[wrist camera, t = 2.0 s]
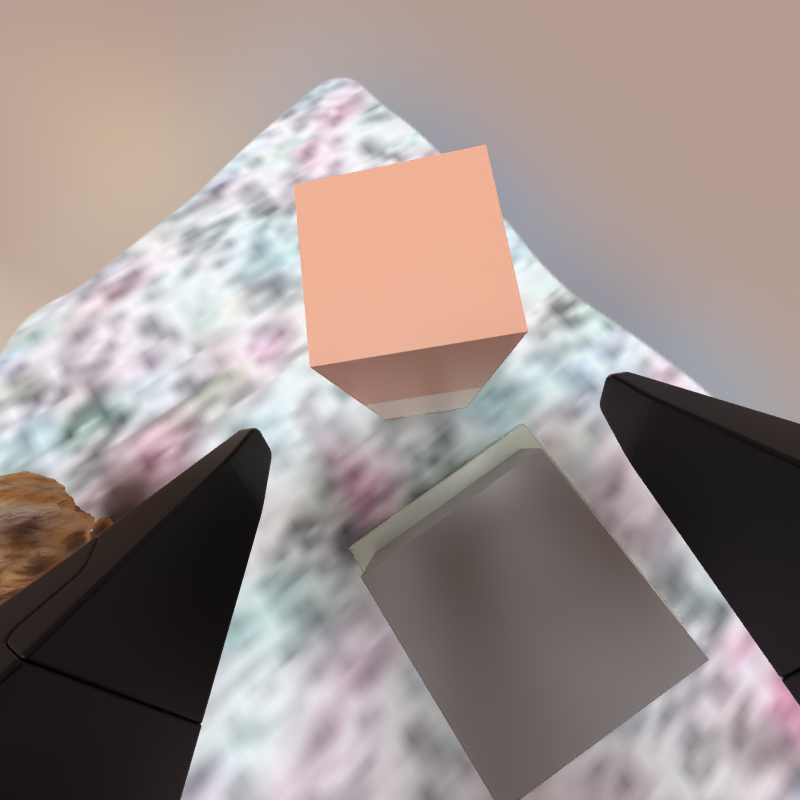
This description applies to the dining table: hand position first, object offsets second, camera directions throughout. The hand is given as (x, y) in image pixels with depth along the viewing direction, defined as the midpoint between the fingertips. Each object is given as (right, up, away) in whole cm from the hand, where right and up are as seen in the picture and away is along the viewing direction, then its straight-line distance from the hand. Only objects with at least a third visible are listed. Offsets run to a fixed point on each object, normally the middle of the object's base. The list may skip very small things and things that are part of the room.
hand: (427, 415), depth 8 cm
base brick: (+5, -9, +9) cm, 14 cm away
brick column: (0, +2, +11) cm, 11 cm away
